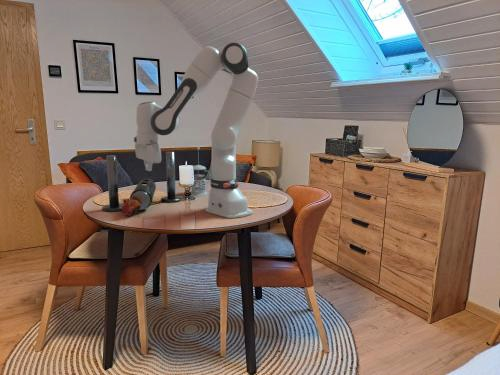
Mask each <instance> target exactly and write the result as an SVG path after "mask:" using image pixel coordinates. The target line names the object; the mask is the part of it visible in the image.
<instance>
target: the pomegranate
mask: <svg viewBox="0 0 500 375" xmlns="http://www.w3.org/2000/svg"><path fill="white" fill-rule="evenodd" d="M123 203H124V205H123V207H122V213H123V215H125V216H127V217H131V216H132V215H135V214H136V215H138V213H137V212H138V211H140V210H139V209H140V206H141V204H140V203H139V202H138V201H137V200H134V199H130V198H129V199H128V200H126V199H124V200H123Z"/></svg>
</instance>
